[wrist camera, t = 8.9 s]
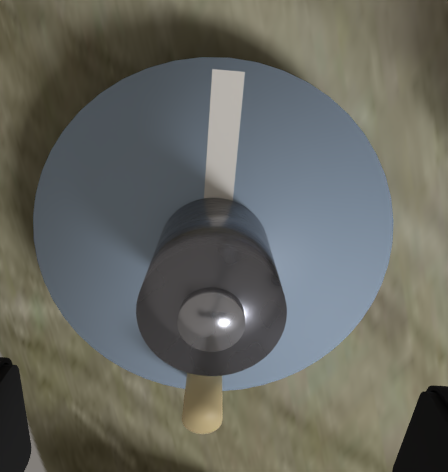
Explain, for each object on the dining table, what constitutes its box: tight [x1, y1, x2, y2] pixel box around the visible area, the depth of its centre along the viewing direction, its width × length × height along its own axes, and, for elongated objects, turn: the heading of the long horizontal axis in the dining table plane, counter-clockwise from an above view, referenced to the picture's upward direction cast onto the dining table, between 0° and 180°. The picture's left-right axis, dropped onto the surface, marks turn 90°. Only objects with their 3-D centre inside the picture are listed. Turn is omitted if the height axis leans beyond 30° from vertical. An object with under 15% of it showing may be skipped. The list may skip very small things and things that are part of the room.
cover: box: [136, 198, 287, 376], centre depth 17 cm, size 6×6×6 cm
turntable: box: [33, 57, 393, 434], centre depth 19 cm, size 18×18×5 cm
